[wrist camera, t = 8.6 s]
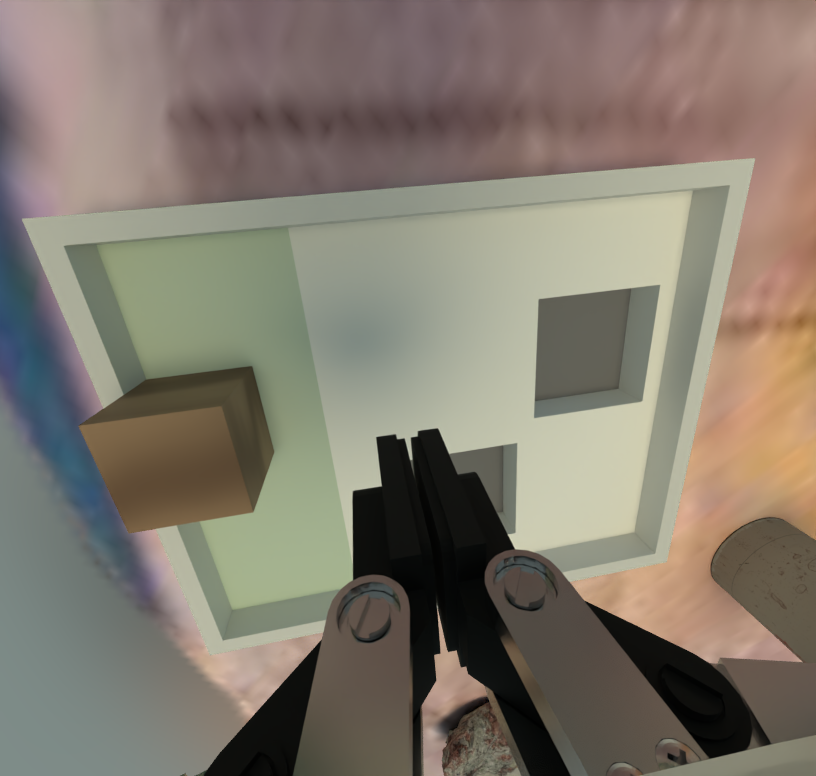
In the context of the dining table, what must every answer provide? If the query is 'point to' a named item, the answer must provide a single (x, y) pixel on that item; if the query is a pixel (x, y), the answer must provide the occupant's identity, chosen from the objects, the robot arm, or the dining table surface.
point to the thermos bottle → (773, 580)
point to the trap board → (420, 358)
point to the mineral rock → (478, 747)
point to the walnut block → (183, 448)
